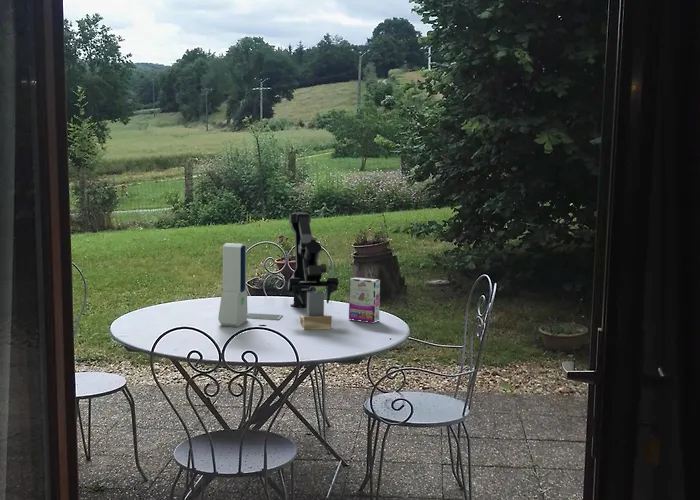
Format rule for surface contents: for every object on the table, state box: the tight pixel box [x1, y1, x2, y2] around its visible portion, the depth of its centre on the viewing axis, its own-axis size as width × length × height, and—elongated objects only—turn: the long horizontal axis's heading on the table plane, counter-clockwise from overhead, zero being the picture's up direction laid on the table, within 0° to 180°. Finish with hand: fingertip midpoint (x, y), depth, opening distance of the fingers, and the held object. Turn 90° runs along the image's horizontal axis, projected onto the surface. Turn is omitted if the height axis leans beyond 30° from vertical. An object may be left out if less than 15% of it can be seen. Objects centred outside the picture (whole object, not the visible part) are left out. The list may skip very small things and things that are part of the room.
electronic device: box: [217, 242, 249, 328], centre depth 278 cm, size 12×8×30 cm, turn 168°
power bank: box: [306, 290, 325, 316], centre depth 278 cm, size 5×6×12 cm
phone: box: [247, 312, 284, 321], centre depth 291 cm, size 7×14×1 cm, turn 82°
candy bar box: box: [348, 276, 381, 323], centre depth 288 cm, size 11×5×16 cm, turn 62°
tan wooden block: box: [299, 314, 333, 331], centre depth 278 cm, size 10×10×5 cm
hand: (315, 303), depth 277 cm, fingers open, 9 cm apart
